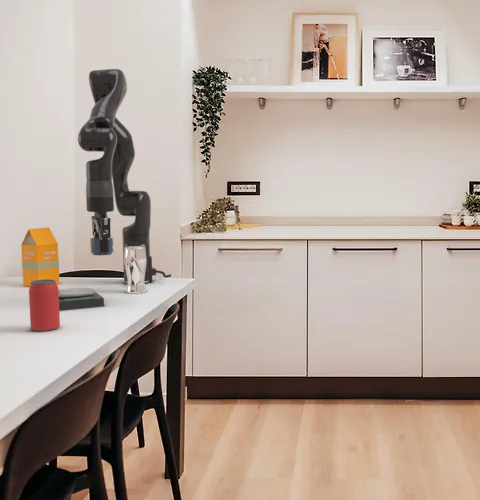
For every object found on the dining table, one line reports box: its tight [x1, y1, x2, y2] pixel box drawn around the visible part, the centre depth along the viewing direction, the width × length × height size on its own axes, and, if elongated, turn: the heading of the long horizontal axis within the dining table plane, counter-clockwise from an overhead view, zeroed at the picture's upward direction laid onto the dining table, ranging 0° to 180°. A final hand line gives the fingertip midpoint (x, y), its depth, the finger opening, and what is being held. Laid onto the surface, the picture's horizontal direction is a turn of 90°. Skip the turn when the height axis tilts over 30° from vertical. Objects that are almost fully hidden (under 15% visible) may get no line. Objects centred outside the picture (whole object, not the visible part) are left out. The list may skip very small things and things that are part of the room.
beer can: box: [28, 279, 61, 332], centre depth 152 cm, size 7×7×12 cm
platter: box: [58, 287, 96, 297], centre depth 183 cm, size 11×11×1 cm
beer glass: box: [124, 246, 147, 294], centre depth 203 cm, size 7×7×15 cm
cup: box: [89, 236, 114, 256], centre depth 184 cm, size 6×6×5 cm
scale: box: [59, 291, 105, 312], centre depth 183 cm, size 13×15×3 cm
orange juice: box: [20, 227, 61, 287], centre depth 215 cm, size 8×9×20 cm
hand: (101, 251), depth 184 cm, fingers closed on cup, 6 cm apart
